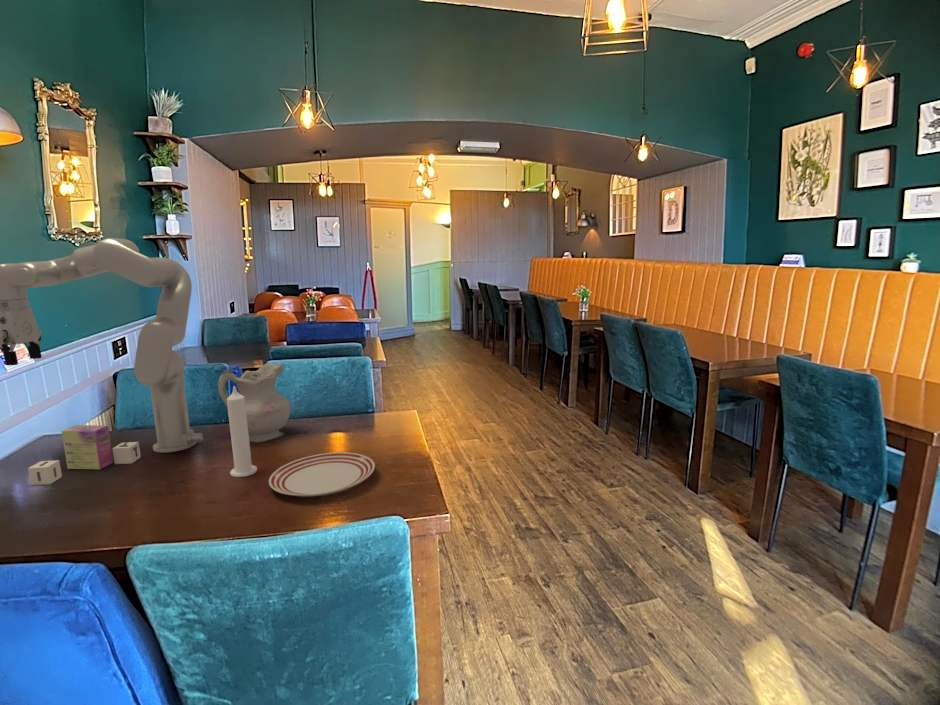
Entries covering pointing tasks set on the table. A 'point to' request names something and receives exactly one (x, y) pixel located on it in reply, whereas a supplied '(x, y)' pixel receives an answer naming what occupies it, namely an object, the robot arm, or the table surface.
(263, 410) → the ceramic pitcher
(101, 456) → the box
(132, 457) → the block seven
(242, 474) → the candle
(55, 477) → the block one
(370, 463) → the dinner plate
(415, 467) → the table surface
